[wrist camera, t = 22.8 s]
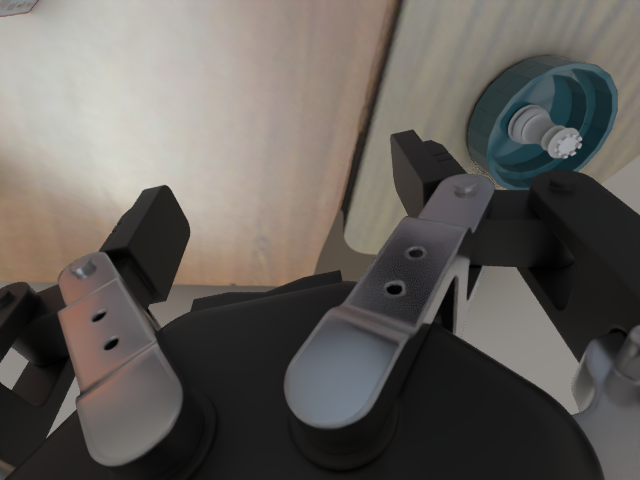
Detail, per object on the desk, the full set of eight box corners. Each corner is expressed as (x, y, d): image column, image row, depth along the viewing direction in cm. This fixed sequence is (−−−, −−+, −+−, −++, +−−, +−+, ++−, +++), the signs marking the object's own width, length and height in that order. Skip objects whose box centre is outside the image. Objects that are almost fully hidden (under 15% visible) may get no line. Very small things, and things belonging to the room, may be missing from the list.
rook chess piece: (545, 126, 43) (594, 151, 37) (510, 147, 44) (552, 175, 38) (538, 95, 41) (589, 115, 34) (501, 118, 42) (544, 141, 35)
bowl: (493, 46, 38) (523, 54, 33) (604, 62, 40) (646, 72, 36) (448, 169, 46) (468, 188, 41) (544, 176, 48) (572, 195, 44)
